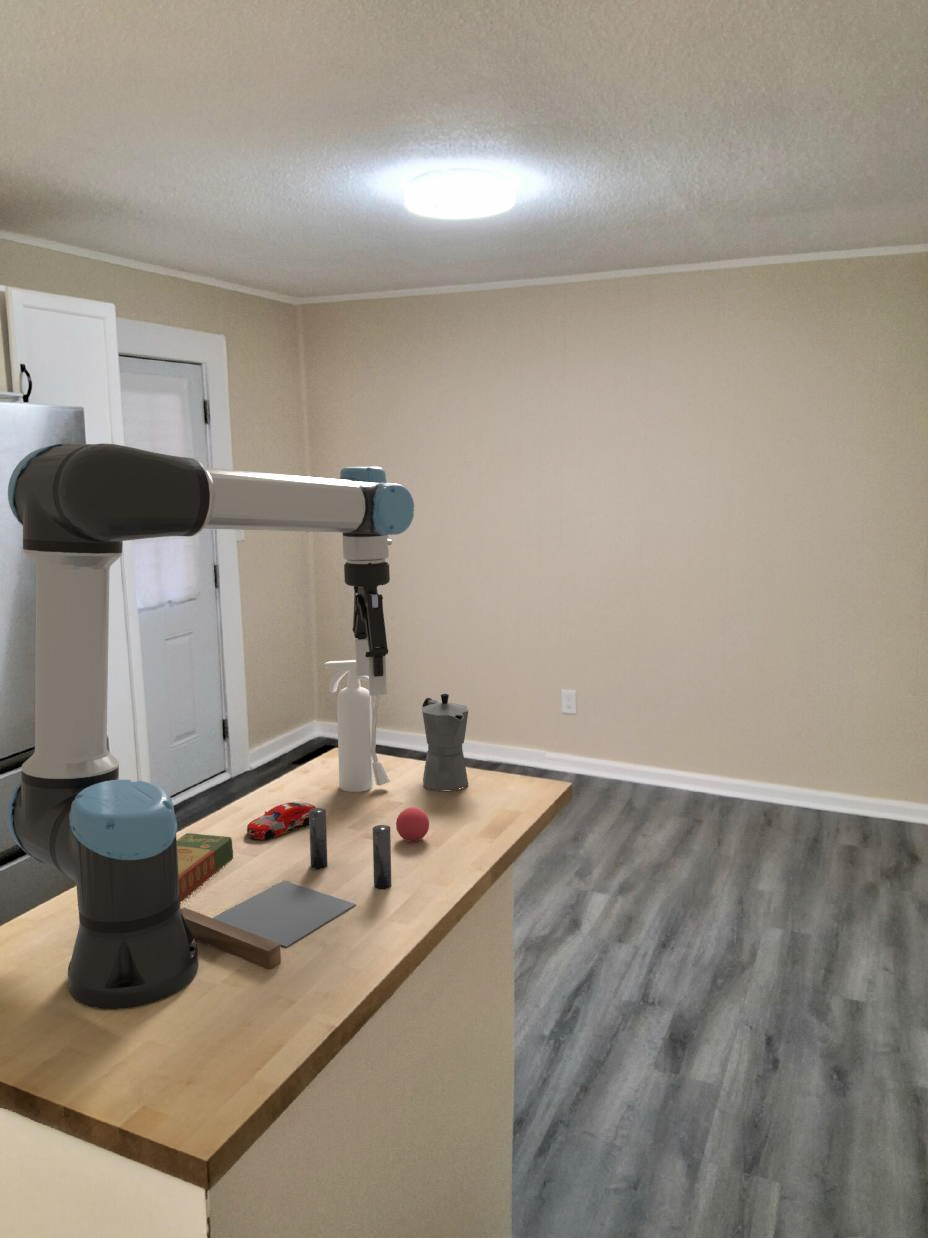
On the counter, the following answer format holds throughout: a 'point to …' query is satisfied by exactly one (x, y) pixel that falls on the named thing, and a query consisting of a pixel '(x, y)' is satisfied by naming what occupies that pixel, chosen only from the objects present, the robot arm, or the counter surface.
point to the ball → (412, 824)
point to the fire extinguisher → (356, 731)
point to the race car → (280, 820)
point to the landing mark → (285, 912)
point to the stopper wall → (233, 940)
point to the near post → (382, 857)
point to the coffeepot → (444, 744)
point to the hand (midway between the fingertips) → (370, 684)
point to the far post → (318, 838)
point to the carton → (200, 859)
